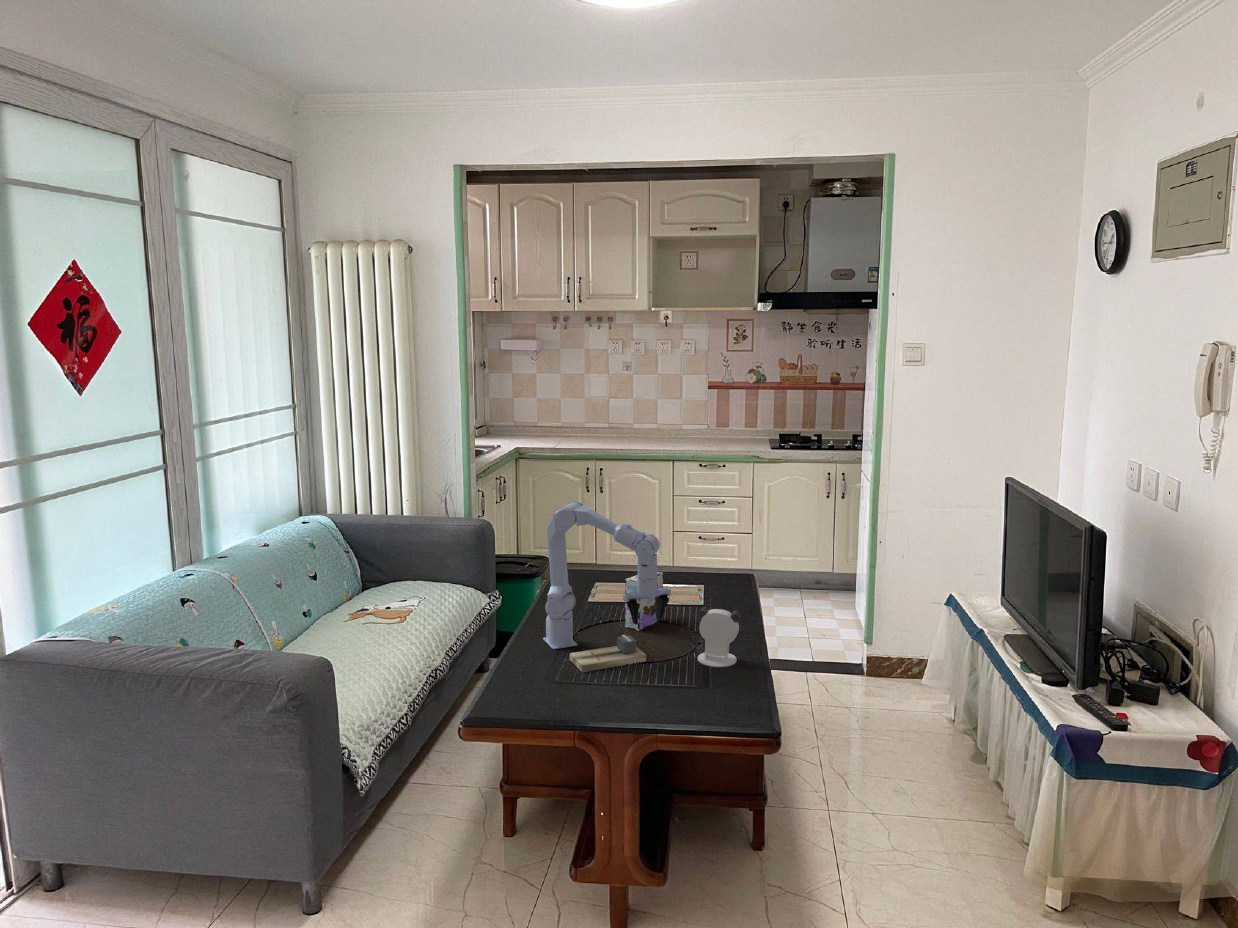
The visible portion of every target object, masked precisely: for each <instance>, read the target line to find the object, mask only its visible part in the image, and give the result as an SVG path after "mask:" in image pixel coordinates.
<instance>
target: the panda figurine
mask: <svg viewBox="0 0 1238 928" xmlns="http://www.w3.org/2000/svg"><path fill="white" fill-rule="evenodd" d="M698 615H699V617H700V618H701V619H700V623H699V634H700V636H701V637H702V639H704V652H702V653H700V654H698V656H697V661H698V662H699V663H700V664H702V665H704V666H708V667H713V668H726V667H730V666H731V667H732V666H733V665H735V664H736V663H737V660H738V659H737V657H736V656H735V655H734V654H732V653H729V652H730V647H731V646H732V645H733V642H734V640H735V639H736V638H737V636H738V634H739V631H740V625H739V621H740V620H741V617H742V616H741V612H740V611H739V610H736V609H735V610H733V611H732V612H731V611H728V610H725V609H722V608H720V609H719V608H713V609H708V607H706V606H704V607H701V609H700V611H699V613H698Z"/></svg>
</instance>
